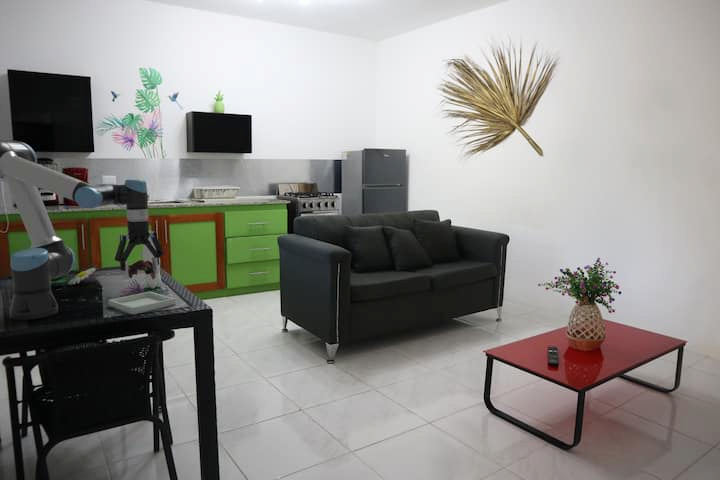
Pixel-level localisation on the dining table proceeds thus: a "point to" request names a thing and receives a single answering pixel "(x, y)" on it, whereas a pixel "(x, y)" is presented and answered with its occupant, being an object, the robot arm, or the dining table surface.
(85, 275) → the decorative flower
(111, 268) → the dining table surface
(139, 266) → the broken clay pot
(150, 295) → the tray
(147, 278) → the water bottle
